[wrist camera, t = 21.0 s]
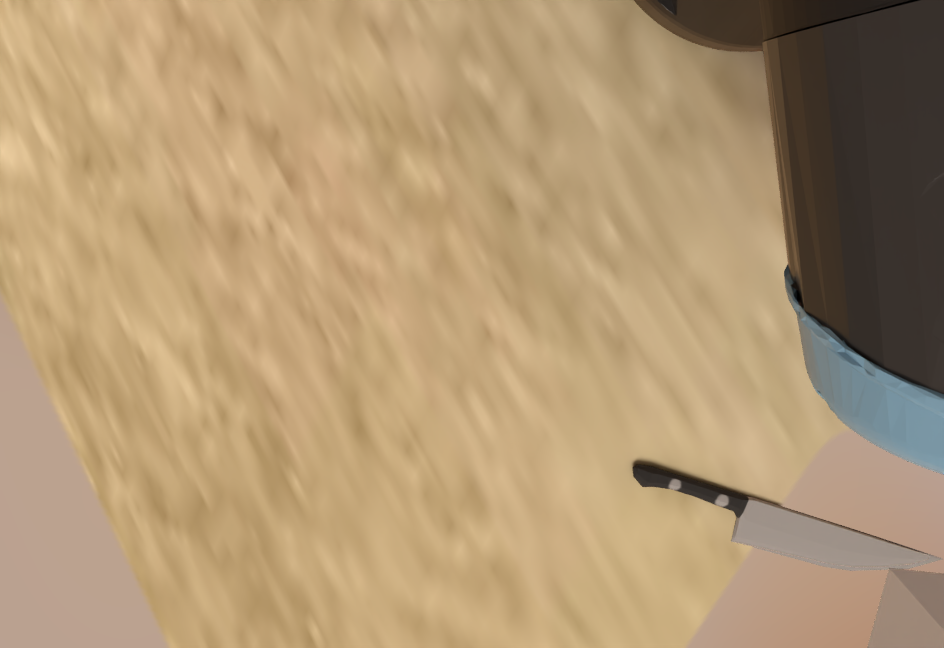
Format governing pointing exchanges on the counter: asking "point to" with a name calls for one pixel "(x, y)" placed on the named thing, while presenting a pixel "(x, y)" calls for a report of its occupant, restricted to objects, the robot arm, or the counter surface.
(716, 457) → the counter surface
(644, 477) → the chef's knife
